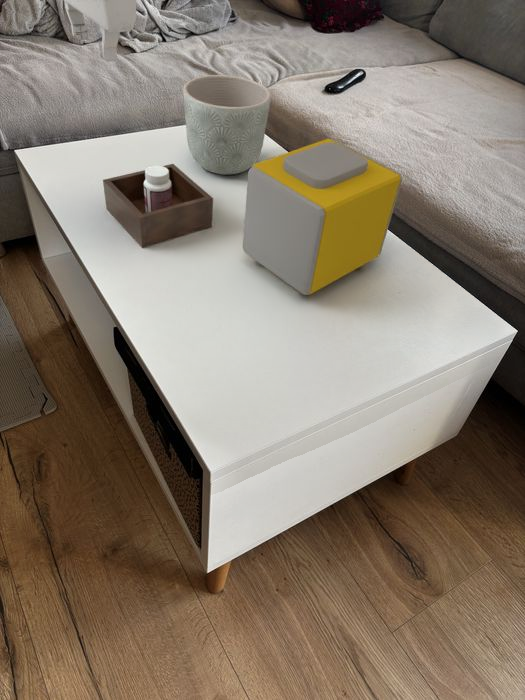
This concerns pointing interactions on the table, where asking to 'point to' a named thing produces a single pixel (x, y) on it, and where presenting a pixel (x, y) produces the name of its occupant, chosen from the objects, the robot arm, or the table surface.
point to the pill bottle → (157, 188)
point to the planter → (225, 121)
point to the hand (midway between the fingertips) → (94, 48)
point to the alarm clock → (318, 213)
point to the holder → (163, 224)
